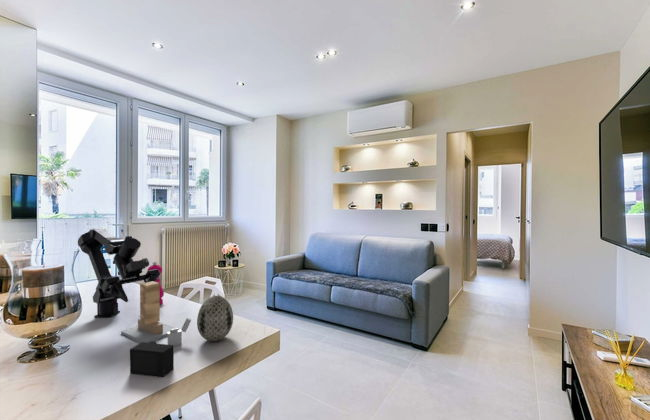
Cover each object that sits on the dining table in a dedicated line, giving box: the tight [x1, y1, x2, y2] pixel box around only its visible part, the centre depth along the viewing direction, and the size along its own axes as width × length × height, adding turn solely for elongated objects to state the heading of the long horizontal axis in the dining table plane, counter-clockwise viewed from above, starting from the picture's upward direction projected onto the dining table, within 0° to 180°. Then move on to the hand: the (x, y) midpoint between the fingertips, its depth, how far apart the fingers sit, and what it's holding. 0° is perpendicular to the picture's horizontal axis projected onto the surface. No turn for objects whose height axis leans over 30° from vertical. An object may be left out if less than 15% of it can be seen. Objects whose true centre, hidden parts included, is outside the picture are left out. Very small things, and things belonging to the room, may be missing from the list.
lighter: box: [166, 317, 192, 347], centre depth 99 cm, size 7×2×8 cm, turn 119°
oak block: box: [139, 281, 161, 325], centre depth 107 cm, size 4×4×14 cm
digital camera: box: [129, 341, 175, 378], centre depth 83 cm, size 10×5×7 cm, turn 80°
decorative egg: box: [196, 295, 234, 342], centre depth 101 cm, size 12×12×15 cm
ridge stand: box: [120, 318, 180, 344], centre depth 107 cm, size 16×12×4 cm
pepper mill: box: [147, 261, 165, 306], centre depth 138 cm, size 7×7×20 cm
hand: (140, 298), depth 110 cm, fingers open, 9 cm apart
